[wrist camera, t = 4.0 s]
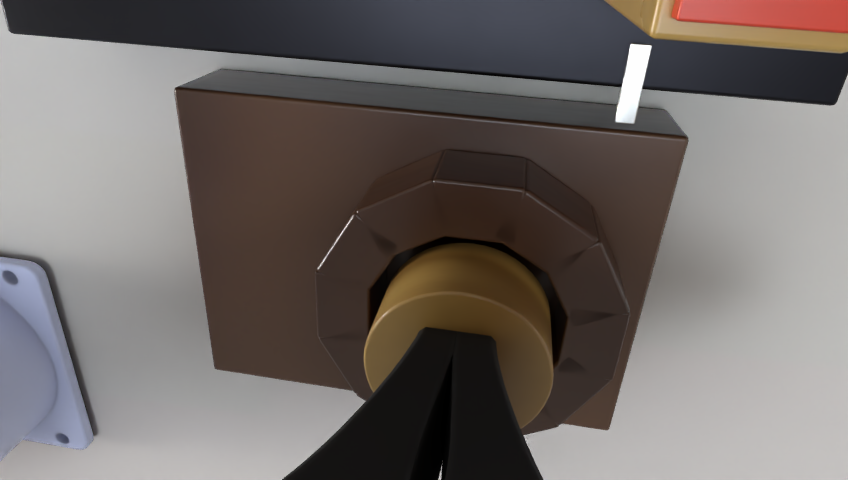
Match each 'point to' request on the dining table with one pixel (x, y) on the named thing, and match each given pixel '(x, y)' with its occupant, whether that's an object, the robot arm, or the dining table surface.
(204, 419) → the dining table surface
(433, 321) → the button
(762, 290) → the dining table surface
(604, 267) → the block
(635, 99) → the plate
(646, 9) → the tan block
